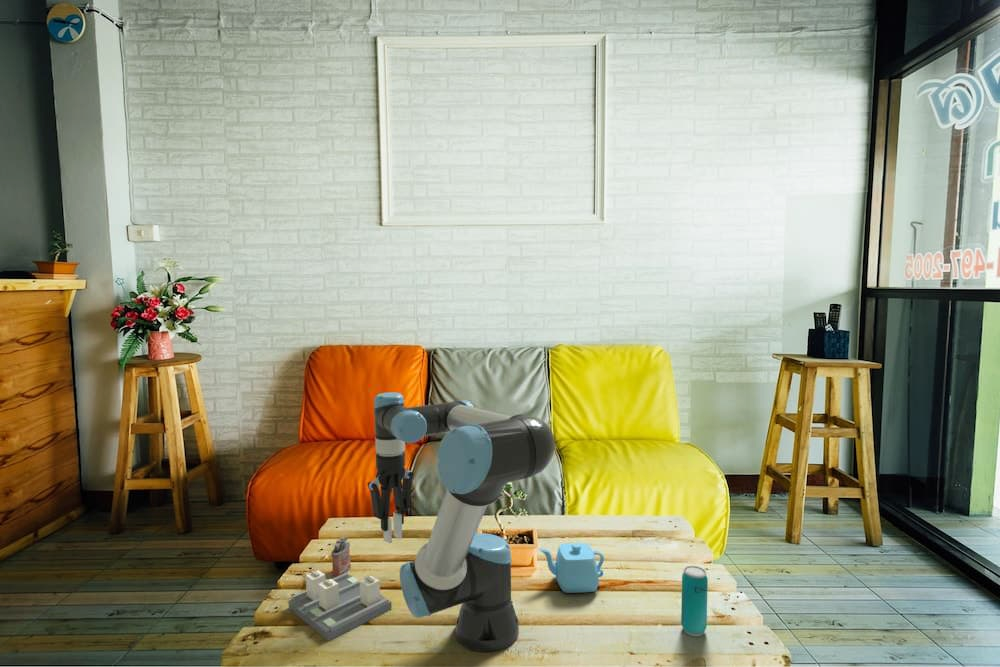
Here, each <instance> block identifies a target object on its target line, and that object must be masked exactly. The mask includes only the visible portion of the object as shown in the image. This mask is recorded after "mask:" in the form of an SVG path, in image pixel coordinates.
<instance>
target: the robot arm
mask: <svg viewBox="0 0 1000 667" xmlns="http://www.w3.org/2000/svg"><path fill="white" fill-rule="evenodd" d="M373 403H374V404H373V412H374V413H373V415H374V417H373V418H374V435H375V436H374V439H375V453H376V454H375V467H376V471H377V472H376V475H375V479H374V480H372V481H368V482H367V483H366V484H367V487H368V489H369V492H370V499H371V506H372V514H373V517H374V518H377V519H379V520H380V529H381V530H382V531H383V533H382V534H383V541H384V542H386V543H388V544H391V543H393V537H395V538H397V539H398V540H402V539H403V525H404V523H405V519H404V515H405V514H407V510H409V509H410V508H411V496H412V480H413V479H414V474H415V473H414V472H413V471H410V470H409V469H408V470H407V469H406V468H405V466H406V452H405V450H406V443H407V444H414V443H417V442H419V441H420V440H422V439H423V438H424V437H428V436H434V435H438V434H445V435H444V436H443V438H442V439H441V441H440V443H439V447H438V450H437V458H438V462H437V470H438V471H437V472H438V475H439V478H440V481H441V484H442V485H443V486H444V488H445V489H446V490H445V494H444V496H443V499H442V502H441V504H440V508H439V511H438V513H437V516H436V519H435V522H434V525H433V528H432V531H431V534H430V536H429V539H428V542H427V543H426V544H424V545H423V546H421V547H420V549H419V550H418V551H417V553H416V555H415V559H414V560H412V561H410V562H409V561H407V562H405V563H404V564H402V565H401V566H400V569H399V580H400V581H399V582H400V587H401V591H402V595H403V600H404V602H405V605H406V607H407V609H408V611H409V612H410V614H411V615H412V616H413V617H415V618H417V619H419V618H423V617H428V616H429V617H430V616H431V615H433V614H436V613H439V612H442V611H445V610H447V609H451V608H453V607H456V606H459V605H461V606H460V609H459V612H458V617H457V618H456V621H455V622H456V623H455V635H456V639H457V642H459V644H461V645H462V646H463V647H464V648H467V649H469V650H470V651H475V652H481V653H482V652H483V653H489V652H498V651H501V650H504V649H505V648H508V647H510V646H511V645H513V643H515V642H516V640H517V639H518V637H519V635H520V634H519V633H520V631H519V630H520V627H519V625H520V624H519V619H518V617H517V615H516V611H515V610H516V609H515V608H514V605H513V604H514V603H513V602H512V562H513V561H512V553H511V547H510V544H509V542H508V541H506V539H504V538H502V537H500V536H498V535H495V534H491V533H486V532H485V533H484V532H478V533H477V531H478V529H479V526H480V524H481V521H482V520H483V517H484V515H485V512H486V510H487V507H489V506H490V505H493V504H494V503H495V502H496V501H498V500H499V498H500V497H501V495H502V492H503V490H504V487H505V485H507V484H508V483H512V482H513V483H514V482H515V481H521V480H524V479H527V478H532V477H535V476H537V475H538V474H540V473H542V472H543V471H544V470H545V469H546V468H547V467H548V465H549V464H550V462H551V461H552V459H553V457H554V454H555V449H556V445H555V444H556V442H555V436H554V434H553V431H552V429H551V428H550V426H549V425H548V424H547V423H546V422H545V421H544V420H542V419H541V418H539V417H536V416H532V415H528V414H523V413H517V414H513V415H506V414H503V413H498V412H493V411H490V410H485V409H481V408H478V407H474V405H473V404H472V402H470V401H469V400H465V399H464V400H454V401H447V402H441V403H435V404H426V405H419V406H418V405H417V406H412V407H406V406H405V400H404V395H403V394H402V393H399V392H393V391H391V392H383V393H379V394H377V395H375V397H374V400H373ZM391 494H393V495H392V496H393V501H394V508H395V511H393V513H392V517H393V518H392V517H390V505H391V504H390V503H391ZM392 521H393V524H392ZM392 525H393V529H392ZM392 530H393V531H392ZM392 532H393V533H392Z"/></svg>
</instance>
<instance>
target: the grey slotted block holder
mask: <svg viewBox="0 0 1000 667" xmlns="http://www.w3.org/2000/svg"><path fill="white" fill-rule="evenodd" d="M331 579H332V578H331ZM332 580H334V581H335V582H337V583H338V587H339V605H337V606H335V607H333V608H331V609H329V610H327V611H326V610H325V609H324V608H322V607H321V606H320V605H319V598H318V599H316V600H314V601H313V600H312V599H311V598H309V597H308V596H307V592H306V589H305V590H302V591H300V592H297V593H296V594H293V595H291V599H290V600H288V602H287V603H288V610H290V611H291V612H292V611H293V612H292V613H294V615H296V616H297V617H298V618H299V619H301V620H302V621H303V622H304V623H306V625H308V626H309V627H310V628H311V629H313V631H315V632H316V633H317V634H318V635H320V636H321V637H322V638H324V640H326V641H327V642H330V641H332V640H334V639H336V638H338V637H341V636H342V635H344V634H346V633H348V632H350V631H351V630H354V629H355V628H358V627H360V626H361V625H363V624H364V625H365V623H367V622H369V621H372V620H374V619H375V618H377V617H379V616H381V615H382V614H384V613H387V612H389V611H391V610H392V609H393V608H392V601H391V600H389V599H388V598H386V597H385V596H383V595H382V594H380V601H379V602H377V603H375V604H373V605H371V606H369V607H367V606H366V605H364V604H363V603H361V602H360V581H361V580H359V579H358V578H357V577H355V576H352V575H351V574H349V572H348V573H344V574H342V575H340V576H337V577H335V578H333V579H332ZM391 608H392V609H391ZM390 609H391V610H390ZM388 610H389V611H388Z"/></svg>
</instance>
